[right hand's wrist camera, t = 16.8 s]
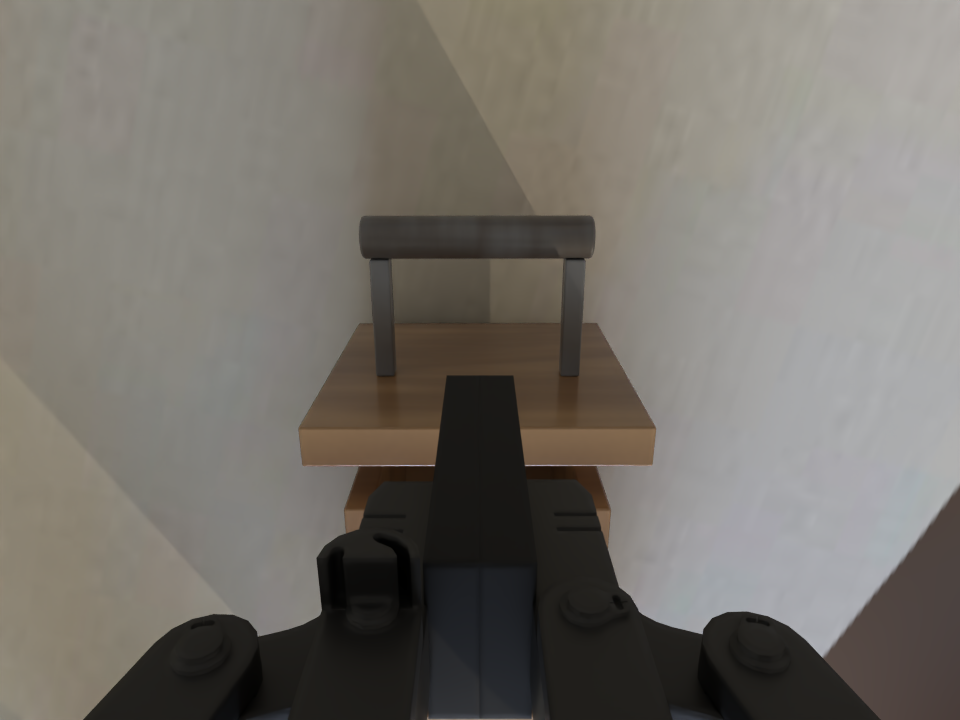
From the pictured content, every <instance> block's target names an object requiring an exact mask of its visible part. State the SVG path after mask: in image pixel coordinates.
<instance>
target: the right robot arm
mask: <svg viewBox="0 0 960 720" xmlns="http://www.w3.org/2000/svg"><path fill="white" fill-rule="evenodd" d="M317 567H318V576H319V586H320V595H321V605H322V612H321V615H320V616H319V617H317V618H315V619H313V620H311V621H309V622H308V623H306V624H304V625H301V626H298V627H295V628H292V629H289V630H285V631H281V632H277V633H272V634H268V635H264V636H260V637H258V636H257V631H256V630H255V629H254V628H253V626H252V625H251V624H250V623H249V621H247V620H245V619H242V618H240V617H237V616H235V615H221V614H213V615H208V616H204V617H200V618H195V619H192V620H190V621H188V622H186V623H183V624H181V625H179V626H177V627H175V628H173V629H171V630H170V631H169V632H168V633H167V634H165V635H164V636H163V637H162V638H160V639H159V640H158V641H157V642H155V643H154V645H153V646H152V647H151V648H150V649H149V650H148V651H147V652H146V653H145V654H144V655H143V656H142V657H141V658H140V659H139V661H138V662H137V663H136V664H135V665H134V666H133V667H132V668H131V669H130V670H129V671H128V672H127V673H126V674H125V676H124V677H123V678H122V679H121V680H120V681H119V682H118V683H117V684H116V685H115V686H114V687H113V688H112V689H111V690H110V692H109V693H108V694H107V695H106V696H105V697H104V698H103V699H102V700H101V701H100V702H99V703H98V704H97V705H96V707H95V708H94V709H93V710H92V711H91V712H90V713H89V714H88V715H87V716H86V717H85V718H84V719H83V720H427V716H428V719H532V713H533V720H880V719H879V718H878V716H877V715H876V714H875V713H874V712H873V711H872V710H871V709H870V708H869V707H868V706H867V705H866V704H865V703H864V702H863V701H862V699H861V698H860V697H859V696H858V695H857V694H856V693H855V692H854V691H853V690H852V689H851V688H850V687H849V686H848V685H847V684H846V683H845V681H844V680H843V679H842V678H841V677H840V676H839V675H838V674H837V673H836V672H835V671H834V670H833V669H832V668H831V667H830V665H829V664H828V663H827V662H826V661H825V660H824V659H823V658H822V657H821V656H820V655H819V654H818V653H817V652H816V651H815V650H814V648H813V647H812V646H811V645H810V644H809V643H808V642H807V641H806V640H805V639H804V638H802V637H801V636H800V635H799V634H797V633H796V632H795V631H794V630H793V629H791V628H790V627H789V626H787V625H785V624H783V623H781V622H779V621H776V620H774V619H772V618H770V617H768V616H764V615H759V614H755V613H751V612H727V613H724V614H722V615H719V616H716V617H714V618H712V619H711V620H710V622H709V623H708V624H707V625H706V627H705V628H704V629H703V635H702V634H698V633H694V632H690V631H686V630H682V629H678V628H674V627H670V626H667V625H664V624H661V623H658V622H656V621H654V620H652V619H650V618H648V617H646V616H644V615H642V614H641V613H640V612H639V611H638V608H637V607H636V605H635V603H634V602H633V600H632V598H631V597H630V596H629V595H628V594H627V593H626V592H624V591H623V590H622V589H620V588H619V586H618V583H617V579H616V576H615V572H614V569H613V566H612V562H611V559H610V555H609V552H608V548H607V545H606V542H605V538H604V535H603V531H601V525H600V521H599V518H598V516H597V511H596V508H595V504H594V501H593V497H592V495H591V494H590V493H589V492H588V491H587V490H586V489H585V488H584V487H583V486H582V485H581V484H580V483H579V482H578V481H577V480H576V479H527V478H526V470H525V462H524V454H523V446H522V439H521V431H520V423H519V415H518V407H517V400H516V392H515V384H514V376H513V375H447V376H446V384H445V392H444V400H443V407H442V415H441V423H440V431H439V439H438V446H437V454H436V462H435V470H434V478H433V481H384V482H383V483H382V484H381V485H380V486H379V487H378V488H377V489H376V490H375V491H374V492H373V493H372V494H371V495H370V496H369V497H368V500H367V503H366V507H365V510H364V514H363V518H362V521H361V524H360V527H359V530H355V531H352V532H349V533H346V534H343V535H341V536H338V537H337V538H335V539H334V540H333V541H331V542H330V543H328V544H327V545H325V546H324V548H323V549H322V551H321V552H320V554H319V555H318V557H317Z"/></svg>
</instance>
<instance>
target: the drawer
mask: <svg viewBox="0 0 960 720" xmlns="http://www.w3.org/2000/svg"><path fill="white" fill-rule="evenodd" d="M359 242H360V250H361V254H362V256H363V258H366V259H371V260H370V262H369V264H370V281H371V297H372V314H373V323H360V324H359V325H358V327H357V328H356V330H355V332H354V334H353V335H352V337H351V339H350V340H349V342H348V344H347V346H346V347H345V349H344V351H343V352H342V354H341V356H340V358H339V359H338V361H337V363H336V365H335V366H334V368H333V370H332V371H331V373H330V375H329V377H328V378H327V380H326V382H325V383H324V385H323V387H322V389H321V390H320V392H319V394H318V396H317V397H316V399H315V401H314V402H313V404H312V406H311V408H310V409H309V411H308V413H307V414H306V416H305V418H304V420H303V421H302V423H301V425H300V427H299V439H300V448H301V457H302V465H303V466H359V468H358V471H357V474H356V477H355V480H354V483H353V485H352V488H351V491H350V494H349V497H348V500H347V503H346V506H345V509H344V515H345V527H346V533H349V532H352V531H355V530H359V527H360V524H361V521H362V518H363V514H364V510H365V507H366V503H367V500H368V497H369V496H370V495H371V494H372V493H373V492H374V491H375V490H376V489H377V488H378V487H379V486H380V485H381V484H382V483H383V482H384V481H433V478H434V470H435V462H436V454H437V446H438V439H439V431H440V423H441V415H442V407H443V400H444V392H445V384H446V376H447V375H513V376H514V384H515V392H516V400H517V407H518V415H519V423H520V431H521V439H522V446H523V454H524V462H525V470H526V478H527V479H576V480H577V481H578V482H579V483H580V484H581V485H582V486H583V487H584V488H585V489H586V490H587V491H588V492H589V493H590V494H591V495H592V497H593V501H594V504H595V508H596V511H597V516H598V518H599V521H600V525H601V531H603V535H604V538H605V542H606V545H607V548H608V540H609V528H610V515H611V509H610V506H609V503H608V500H607V496H606V493H605V490H604V487H603V484H602V481H601V478H600V475H599V472H598V469H597V466H651V465H652V463H653V454H654V444H655V434H656V427H655V425H654V423H653V422H652V420H651V418H650V416H649V414H648V413H647V411H646V409H645V407H644V406H643V404H642V402H641V400H640V399H639V397H638V395H637V393H636V391H635V390H634V388H633V386H632V384H631V383H630V381H629V379H628V377H627V375H626V374H625V372H624V370H623V368H622V367H621V365H620V363H619V361H618V359H617V358H616V356H615V354H614V352H613V351H612V349H611V347H610V345H609V344H608V342H607V340H606V338H605V336H604V335H603V333H602V331H601V329H600V328H599V326H598V324H597V323H582V316H583V298H584V280H585V262H586V261H585V259H584V258H591V257H592V255H593V252H594V247H595V222H594V219H593V217H592V216H363V217H362V218H361V221H360V226H359ZM471 258H564V262H563V285H562V308H561V323H394V306H393V285H392V265H391V259H471Z"/></svg>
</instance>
